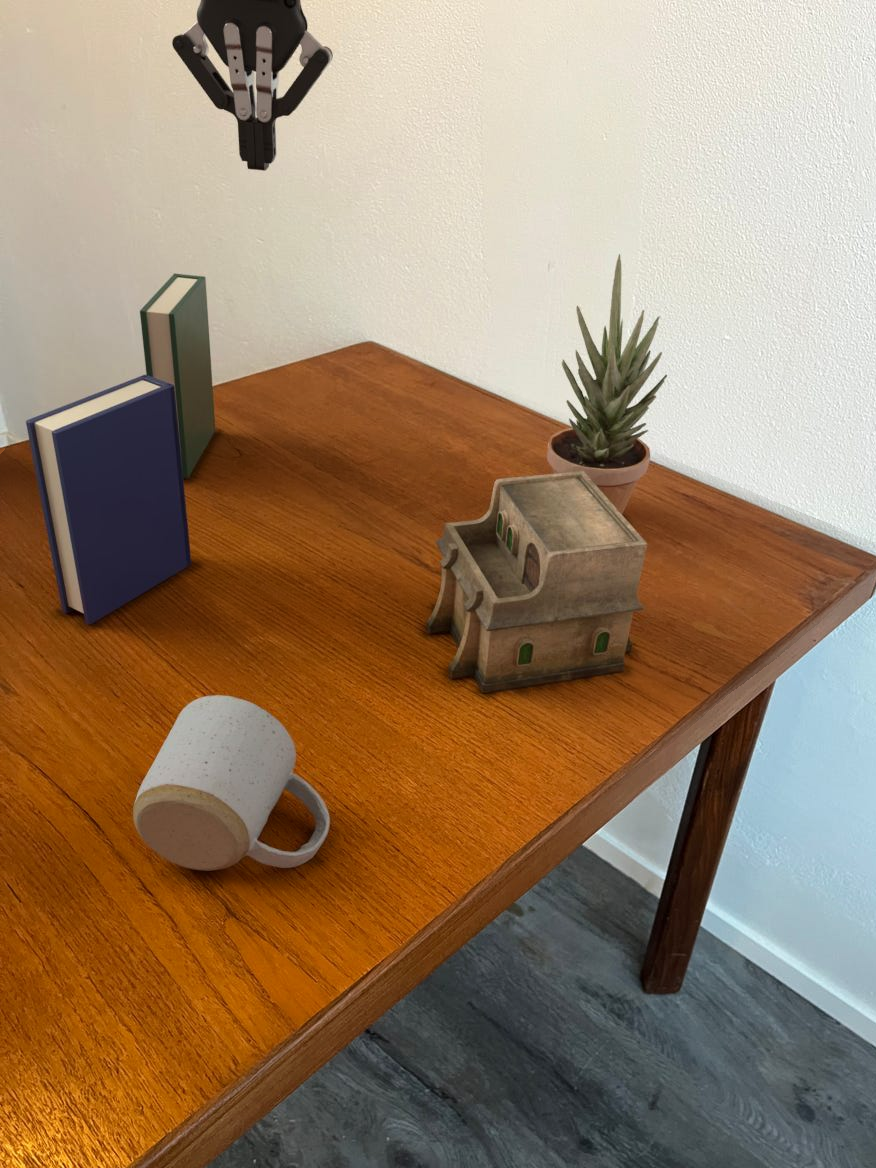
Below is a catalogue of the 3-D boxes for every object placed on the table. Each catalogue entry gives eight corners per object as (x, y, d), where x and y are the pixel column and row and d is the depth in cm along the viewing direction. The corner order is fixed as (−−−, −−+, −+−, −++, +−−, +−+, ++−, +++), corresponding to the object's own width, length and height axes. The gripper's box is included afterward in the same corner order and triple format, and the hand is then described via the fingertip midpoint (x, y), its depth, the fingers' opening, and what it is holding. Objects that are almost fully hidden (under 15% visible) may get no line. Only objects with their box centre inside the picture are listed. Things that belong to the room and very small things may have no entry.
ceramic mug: (130, 868, 59) (115, 773, 54) (184, 773, 65) (174, 681, 61) (307, 901, 58) (306, 808, 54) (344, 801, 65) (346, 710, 60)
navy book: (174, 384, 76) (145, 374, 77) (56, 433, 68) (25, 420, 69) (191, 564, 85) (165, 552, 86) (89, 625, 77) (62, 611, 78)
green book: (205, 276, 97) (174, 273, 96) (174, 314, 88) (139, 310, 88) (215, 430, 106) (186, 427, 106) (188, 478, 97) (156, 475, 97)
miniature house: (573, 574, 89) (592, 456, 82) (645, 671, 78) (673, 544, 72) (409, 595, 84) (415, 471, 77) (462, 700, 74) (473, 568, 67)
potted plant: (560, 483, 103) (596, 231, 88) (649, 508, 100) (701, 252, 85) (522, 524, 95) (554, 256, 81) (617, 553, 92) (667, 280, 78)
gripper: (144, -91, 72) (168, 170, 83) (328, -72, 73) (330, 185, 83) (172, -91, 78) (192, 152, 89) (343, -74, 79) (342, 166, 89)
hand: (258, 167), depth 86 cm, fingers closed
